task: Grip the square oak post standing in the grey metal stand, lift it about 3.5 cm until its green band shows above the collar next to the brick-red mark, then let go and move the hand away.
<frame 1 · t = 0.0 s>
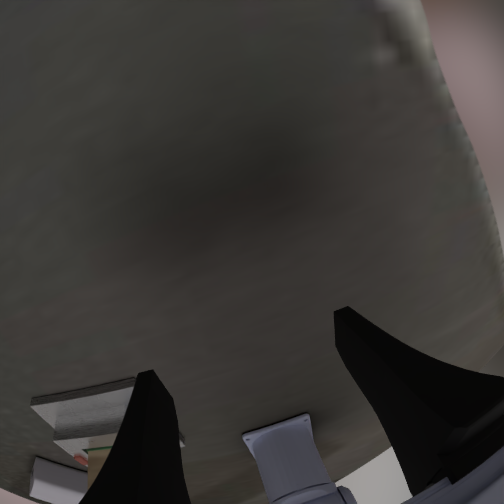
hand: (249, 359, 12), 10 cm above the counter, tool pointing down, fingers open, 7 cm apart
post: (109, 463, 23), point 5 cm above the counter, slide at 0.0 cm
charger: (80, 477, 34), on the counter
stand: (109, 423, 27), on the counter
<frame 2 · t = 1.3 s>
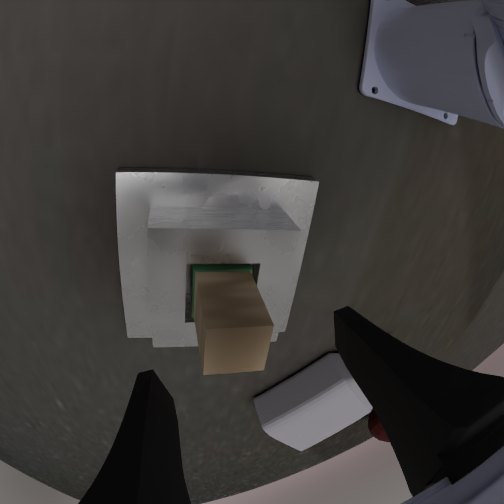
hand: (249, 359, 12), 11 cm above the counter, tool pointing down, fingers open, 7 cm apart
potato: (384, 400, 39), on the counter
post: (223, 303, 17), point 5 cm above the counter, slide at 0.0 cm
charger: (331, 373, 32), on the counter
stand: (211, 258, 22), on the counter
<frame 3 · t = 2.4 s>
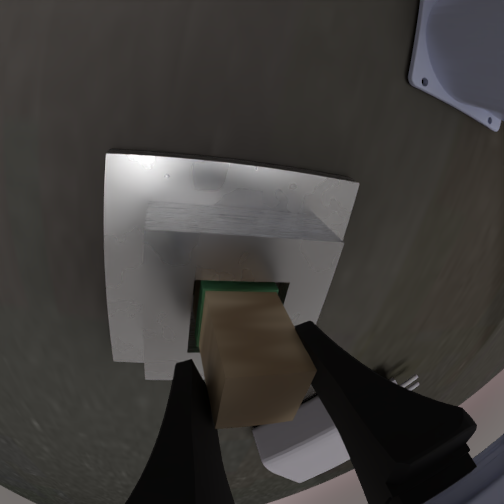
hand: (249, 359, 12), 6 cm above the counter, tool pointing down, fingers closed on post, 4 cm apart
post: (240, 332, 13), point 5 cm above the counter, slide at 0.0 cm, touching gripper
charger: (338, 402, 28), on the counter
stand: (221, 271, 17), on the counter
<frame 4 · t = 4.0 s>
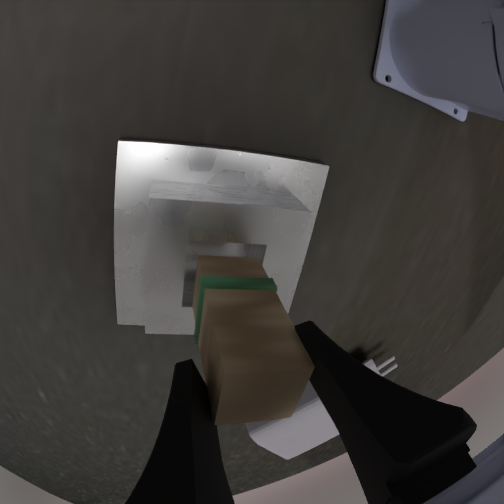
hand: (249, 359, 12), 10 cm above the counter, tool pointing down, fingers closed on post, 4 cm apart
post: (239, 330, 13), point 8 cm above the counter, slide at 3.3 cm, touching gripper
charger: (321, 382, 31), on the counter
stand: (212, 242, 20), on the counter
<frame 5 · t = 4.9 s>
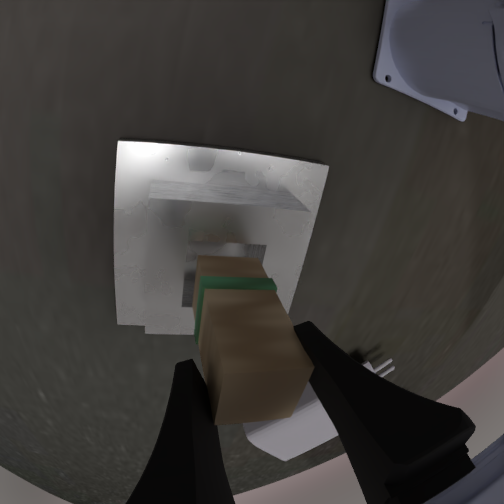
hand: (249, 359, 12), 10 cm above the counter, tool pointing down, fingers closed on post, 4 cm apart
post: (239, 330, 13), point 8 cm above the counter, slide at 3.3 cm, touching gripper
charger: (319, 384, 31), on the counter
stand: (212, 242, 20), on the counter
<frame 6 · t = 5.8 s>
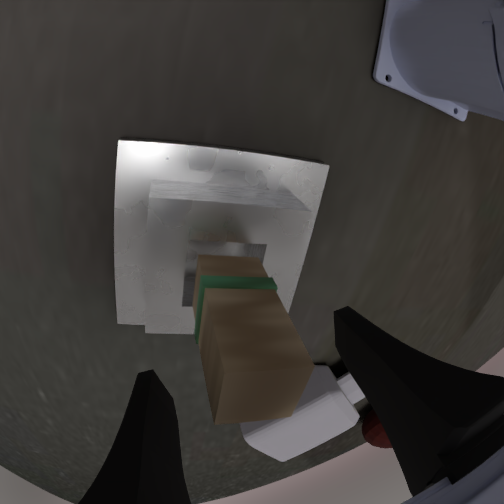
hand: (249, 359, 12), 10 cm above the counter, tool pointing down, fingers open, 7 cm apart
potato: (379, 405, 38), on the counter
post: (239, 329, 13), point 8 cm above the counter, slide at 3.3 cm
charger: (316, 385, 32), on the counter
stand: (212, 241, 20), on the counter
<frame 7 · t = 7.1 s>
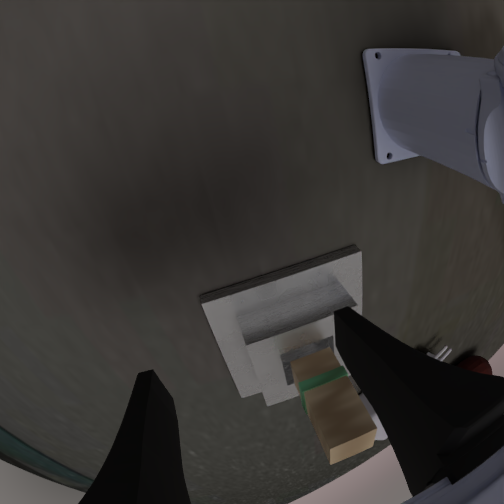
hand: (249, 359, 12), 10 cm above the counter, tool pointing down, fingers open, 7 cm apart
potato: (455, 365, 41), on the counter
post: (331, 404, 19), point 8 cm above the counter, slide at 3.3 cm
charger: (396, 376, 36), on the counter
stand: (292, 327, 26), on the counter
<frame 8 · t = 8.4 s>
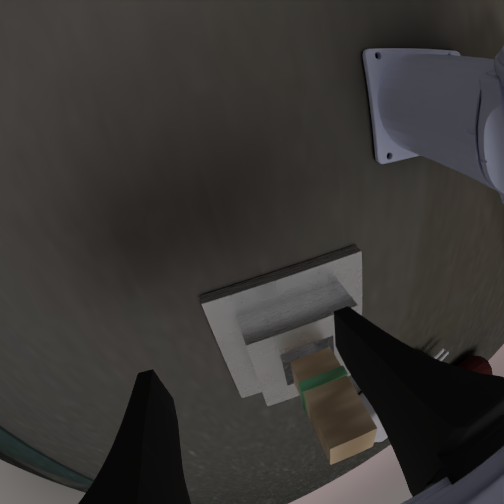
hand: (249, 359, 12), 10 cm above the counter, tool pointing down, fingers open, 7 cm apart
potato: (455, 365, 41), on the counter
post: (331, 404, 19), point 8 cm above the counter, slide at 3.3 cm
charger: (393, 378, 37), on the counter
stand: (292, 327, 26), on the counter
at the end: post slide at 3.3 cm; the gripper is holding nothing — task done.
